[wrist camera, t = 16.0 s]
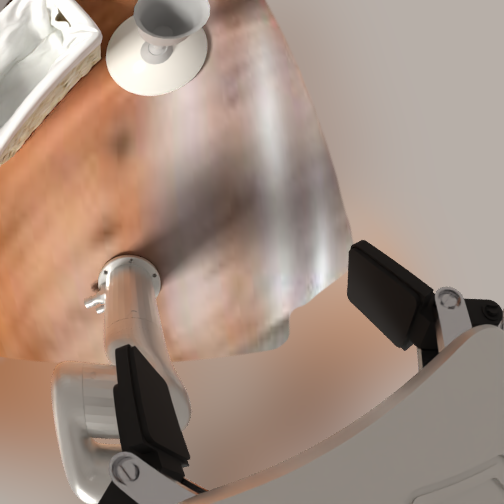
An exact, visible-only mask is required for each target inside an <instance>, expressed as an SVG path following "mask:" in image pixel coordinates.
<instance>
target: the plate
mask: <svg viewBox="0 0 504 504" xmlns="http://www.w3.org/2000/svg"><path fill="white" fill-rule="evenodd" d="M144 43H145V40H144V39H143V38H142V37H141V36H140V34H139V31H138V26H137V25H136V22H135V19H134V15H133V16H131V17H129V18H128V19H127V20H125V21H124V22H123V23H122V24H121V25H120V26H119V27H118V28H117V29H116V30H115V32H114V33H113V35H112V37H111V39H110V41H109V43H108V46H107V51H106V63H107V67H108V70H109V73H110V75H111V76H112V78H113V79H114V81H115V82H116V83H117V84H118V85H119V86H120V87H122V88H123V89H125V90H127V91H129V92H131V93H134V94H137V95H142V96H158V95H163V94H167V93H170V92H173V91H175V90H177V89H179V88H181V87H182V86H184V85H185V84H187V83H188V82H189V81H190V80H192V79H193V78H194V77H195V76H196V74H197V73H198V72H199V70H200V69H201V67H202V65H203V63H204V61H205V58H206V55H207V38H206V35H205V32H204V30H203V28H202V27H201V28H200V29H199V30H198V31H196V32H194V33H192V34H191V35H189V36H188V37H187V38H186V39H185V40H184V41H182V42H180V43H178V44H175V45H172V46H173V52H172V54H171V56H170V57H169V59H168V60H166V61H165V62H163V63H160V64H149V63H147V62H145V61H144V60H143V59H142V57H141V54H140V51H141V47H142V45H143V44H144Z"/></svg>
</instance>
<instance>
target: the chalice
mask: <svg viewBox="0 0 504 504" xmlns="http://www.w3.org/2000/svg"><path fill="white" fill-rule="evenodd" d="M209 16H210V5H209V2H208V0H138V2H137V4H136V5H135V7H134V19H135V22H136V25H137V26H138V31H139V34H140V36H141V37H142V38H143V39H144V40H145V43H144V44H143V45H142V47H141V51H140V54H141V57H142V59H143V60H144V61H145V62H147V63H149V64H160V63H163V62H165V61H166V60H168V59H169V57H170V56H171V54H172V52H173V46H172V45H175V44H178V43H180V42H182V41H184V40H185V39H186V38H187V37H188V36H189V35H191V34H192V33H194V32H196V31H198V30H199V29H200V28H201V27H202V26H204V25H205V24H206V22H207V20H208V18H209Z"/></svg>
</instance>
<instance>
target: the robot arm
mask: <svg viewBox="0 0 504 504" xmlns="http://www.w3.org/2000/svg"><path fill="white" fill-rule="evenodd" d="M130 259H132V260H130ZM105 270H107V271H105ZM160 287H161V282H160V276H159V273H158V271H157V269H156V268H155V267H154V265H153V264H152V263H151V262H149V261H148V260H146V259H145V258H142V257H140V256H135V255H122V256H118V257H115V258H113V259H111V260H110V261H108V262H107V263H106V264H105V265H104V267H103V268H102V269H101V272H100V274H99V278H98V289H99V291H98V292H97V293H96V295H94V296H91V297H88V298H86V299H84V303H85V306H86V307H87V308H91V307H93V306H95V305H96V304H99V303H101V304H104V303H105V304H104V305H101V306H99V307H97V308H96V311H97V313H98V314H101V313H103V312H104V349H105V353H106V356H107V358H108V360H109V362H110V364H111V365H105V364H95V363H86V362H76V361H64V362H61V363H59V364H58V365H57V366H56V367H55V369H54V372H53V374H52V382H51V395H52V406H53V415H54V422H55V428H56V434H57V439H58V445H59V449H60V454H61V458H62V462H63V466H64V470H65V474H66V477H67V480H68V482H69V485H70V486H71V488H72V490H73V492H74V493H75V494H76V496H77V497H78V498H79V499H80V500H82V501H83V502H85V503H87V504H504V309H503V311H502V309H501V308H500V306H499V305H498V304H497V303H496V302H494V301H492V300H482V299H481V300H480V299H464V298H463V296H462V295H461V293H460V292H459V291H457V290H456V289H454V288H451V287H442V288H440V289H438V290H437V291H436V294H434V293H433V289H432V288H430V287H429V286H428V285H427V284H425V283H424V282H422V281H421V280H420V279H419V278H417V277H416V276H415V275H413V274H412V273H410V272H409V271H408V270H407V269H405V268H404V267H402V266H401V265H400V264H398V263H397V262H395V261H394V260H393V259H391V258H390V257H388V256H387V255H386V254H384V253H383V252H381V251H380V250H378V249H377V248H375V247H374V246H372V245H371V244H370V243H368V242H367V241H365V240H361V241H359V242H358V243H355V244H353V245H352V246H351V250H350V251H349V266H348V288H347V296H348V299H349V300H350V302H351V303H352V304H354V305H355V306H356V307H357V308H358V309H359V310H360V311H361V312H362V313H363V314H364V315H365V316H366V317H367V318H368V319H369V320H370V321H371V322H372V323H373V324H374V325H375V326H376V327H377V328H378V329H379V330H380V331H381V332H383V334H384V335H385V336H387V338H388V339H390V340H391V341H392V342H393V343H394V344H395V345H396V346H397V347H399V348H402V349H403V350H404V351H405V350H407V349H408V348H409V347H410V346H412V345H413V344H414V345H415V346H417V355H418V369H419V372H418V373H417V374H416V375H415V376H414V377H413V378H411V379H410V380H409V381H408V382H407V383H405V384H404V385H403V386H402V387H401V388H399V389H398V390H397V391H396V392H394V393H393V394H392V395H391V396H389V397H388V398H387V399H385V400H384V401H383V402H381V403H380V404H379V405H377V406H376V407H375V408H373V409H372V410H370V411H369V412H368V413H366V414H365V415H363V416H362V417H361V418H359V419H357V420H356V421H354V422H353V423H351V424H350V425H348V426H347V427H345V428H343V429H342V430H340V431H339V432H337V433H335V434H334V435H332V436H330V437H329V438H327V439H325V440H323V441H322V442H320V443H318V444H316V445H314V446H313V447H311V448H309V449H307V450H305V451H303V452H301V453H299V454H298V455H295V456H293V457H291V458H289V459H287V460H285V461H283V462H281V463H279V464H277V465H274V466H272V467H270V468H268V469H265V470H263V471H261V472H258V473H255V474H253V475H251V476H248V477H246V478H243V479H240V480H238V481H235V482H233V483H230V484H227V485H224V486H221V487H218V488H215V489H213V490H210V491H209V490H207V489H205V488H203V487H201V486H199V485H198V484H196V483H194V482H192V481H191V480H189V479H187V478H185V477H184V476H185V475H184V472H183V467H187V466H189V464H188V461H187V460H189V459H190V455H189V452H188V449H187V446H186V443H185V441H184V438H183V435H182V431H183V430H184V429H185V428H186V427H187V425H188V423H189V421H190V418H191V404H190V400H189V397H188V394H187V391H186V389H185V387H184V385H183V383H182V381H181V379H180V377H179V376H178V374H177V372H176V370H175V368H174V366H173V364H172V362H171V359H170V356H169V353H168V350H167V347H166V343H165V339H164V334H163V330H162V326H161V321H160V316H159V312H158V307H157V302H156V298H157V296H158V294H159V291H160ZM93 438H105V439H120V443H121V444H102V443H98V442H96V441H95V440H94V439H93Z"/></svg>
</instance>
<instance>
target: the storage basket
mask: <svg viewBox="0 0 504 504" xmlns="http://www.w3.org/2000/svg"><path fill="white" fill-rule="evenodd" d="M101 42H102V34H101V31H100V29H99V28H98V26H97V25H96V23H95V22H94V21H93V20H92V19H91V17H90V16H89V15H88V14H87V13H86V12H85V11H84V10H83V8H82V7H81V6H80V5H79V4H78V3H77V2H76V1H75V0H13V1H12V2H11V3H10V4H9V5H8V6H7V7H5V8H4V9H3V10H2V11H1V12H0V166H1V165H2V164H4V163H5V162H6V161H8V160H9V159H10V158H11V157H13V156H14V155H15V153H16V152H17V151H18V150H19V149H20V148H21V146H22V145H23V144H24V142H25V141H26V140H27V139H28V137H29V136H30V135H31V133H32V132H33V131H34V130H35V129H36V128H37V127H38V126H39V125H40V124H41V122H42V121H43V120H44V118H45V117H46V116H47V115H48V114H49V113H50V112H51V111H52V110H53V108H54V107H55V106H56V105H57V103H58V102H59V101H61V100H62V99H63V98H64V96H65V95H66V94H67V93H68V92H69V90H70V89H71V88H72V87H73V86H74V85H75V84H76V83H77V82H78V81H79V79H80V78H81V77H84V76H85V75H86V74H87V73H88V72H89V71H90V69H91V67H92V66H93V65H95V64H96V63H97V62H98V61H99V60H100V59H101V47H100V44H101Z"/></svg>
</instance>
